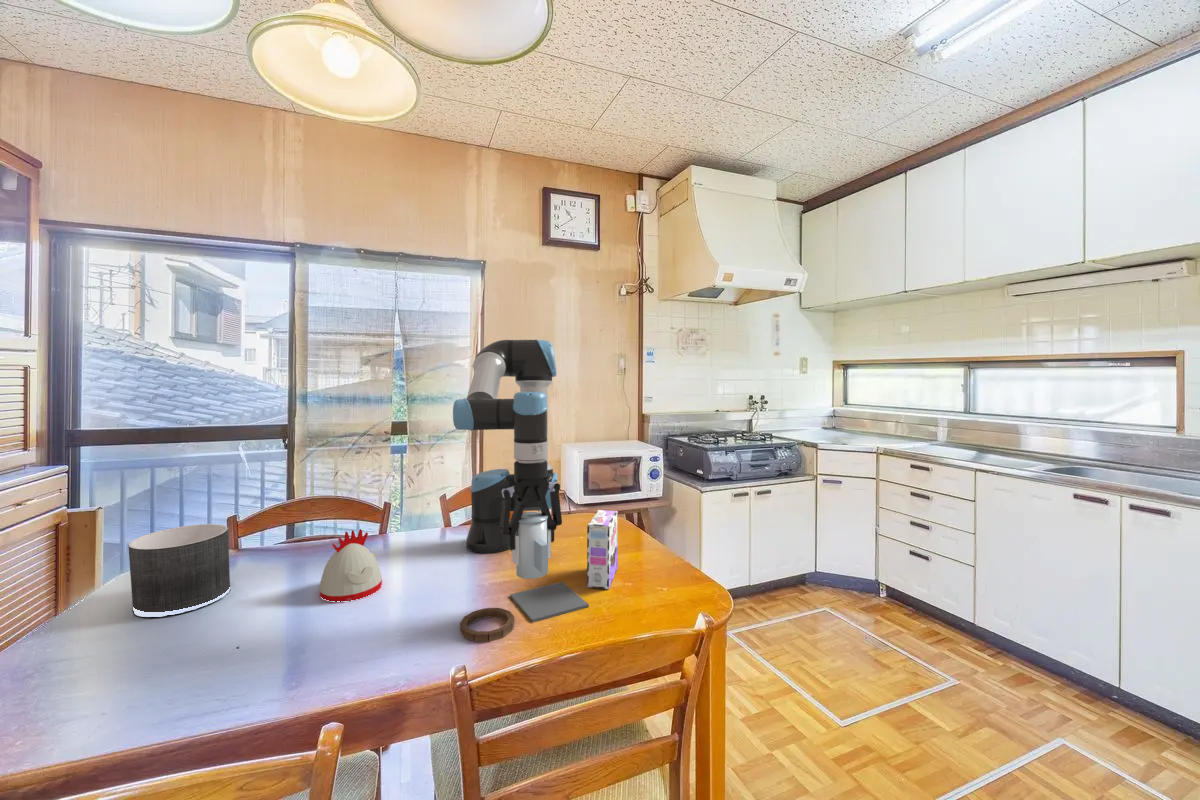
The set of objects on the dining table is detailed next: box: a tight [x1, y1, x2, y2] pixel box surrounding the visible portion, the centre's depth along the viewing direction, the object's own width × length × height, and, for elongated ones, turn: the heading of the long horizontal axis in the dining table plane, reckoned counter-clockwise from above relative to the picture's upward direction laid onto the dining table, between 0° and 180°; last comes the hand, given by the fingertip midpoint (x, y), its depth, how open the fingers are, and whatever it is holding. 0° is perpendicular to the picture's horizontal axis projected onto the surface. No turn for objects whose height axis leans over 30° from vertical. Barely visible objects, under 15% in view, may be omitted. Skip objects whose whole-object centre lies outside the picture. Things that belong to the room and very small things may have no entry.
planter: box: [128, 523, 231, 612], centre depth 115 cm, size 18×18×16 cm
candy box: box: [586, 509, 619, 590], centre depth 127 cm, size 14×6×16 cm, turn 168°
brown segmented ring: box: [459, 607, 516, 643], centre depth 103 cm, size 11×11×2 cm
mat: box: [509, 581, 590, 623], centre depth 115 cm, size 14×14×1 cm
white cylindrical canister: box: [515, 511, 549, 580], centre depth 109 cm, size 11×7×13 cm, turn 30°
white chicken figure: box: [319, 528, 383, 603], centre depth 121 cm, size 14×14×15 cm
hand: (531, 559), depth 111 cm, fingers closed on white cylindrical canister, 7 cm apart
